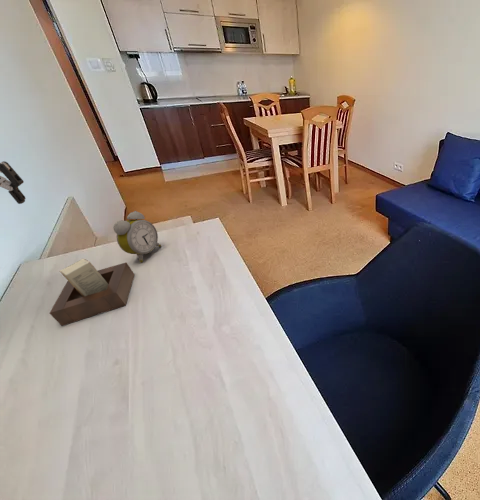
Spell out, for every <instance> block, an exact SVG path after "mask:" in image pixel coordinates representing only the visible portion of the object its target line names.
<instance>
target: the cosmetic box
mask: <svg viewBox="0 0 480 500" xmlns="http://www.w3.org/2000/svg"><path fill="white" fill-rule="evenodd" d="M59 272H60V273H61V275H62V276H63V277H64V278H65V279H66V280H67V281H69V282H70V283H71V284H72V285H73V286H74V288H75V289H76V290H77V291H78V292H79V293H80V294H81V295H82V296H83V297H85V296H88V295H91V294H94V293H98V292H101V291H104V290H107V287H108V283H107V282H106V281H105V279H104V278H103V277H102V276H101V275H100V273H99V272H98V270H97V268H96V267H95V266H94V265H93V264H92V262H91V261H89V260H87V258H81V259H79V260H77V261H75V262H73V263H72V264H69V265H68V266H66V267H64V268H62V269H61V270H59Z"/></svg>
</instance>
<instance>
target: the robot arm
mask: <svg viewBox="0 0 480 500" xmlns="http://www.w3.org/2000/svg"><path fill="white" fill-rule="evenodd" d="M0 173H1V174H3V176H2V175H0V188H2V189H4V190H7V192H8V193H9V195H10V196H11V197H12V198H13V200H14V201H15V202H16V203H17V204H19V205H21V204H24V203H25V202H26V196H25V195H24V193H23V192H22V191H21V190H20V188H19V187H20V186H21V185H23V184H24V179H23V178H22V177H21V176H20V175H19V173H17V172H16V170H14V168H13V167H12V166H11V165H10V164H9V162H7V161H5V160H4V161H1V162H0Z"/></svg>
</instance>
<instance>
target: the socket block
mask: <svg viewBox="0 0 480 500" xmlns="http://www.w3.org/2000/svg"><path fill="white" fill-rule="evenodd" d="M97 271H98V272H99V273H100V275H101V276H102V277H103V278H104V279H105V281H106V282H107V283H108V287H107V290H104V291H101V292H98V293H94V294H91V295H88V296H85V297H83V296H82V295H81V294H80V293H79V292H78V291H77V290H76V289H75V288H74V286H73V285H72V284H71V283H70V282H69V281H68V280H67V282H66V283H65V284H64V286H63V288H62V290H61V292H60V294H59V295H58V297H57V299H56V301H55V303H54V304H53V306H52V308H51V310H50V311H49V315H50V316H51V317H52V318H53V319H54V320H55V321H56V322H57V323H58V324H59V325H60V326H61V327H63V326H66V325H69V324H72V323H75V322H79V321H83V320H85V319H88V318H91V317H94V316H97V315H100V314H103V313H107V312H111V311H113V310H116V309H119V308H122V307H126V306H127V303H128V300H129V296H130V292H131V288H132V286H133V281H134V278H135V273H134V271H133V270H132V268H131V267H130V265H129V264H128V262H123V263H119V264H116V265H112V266H109V267H104V268H101V269H98V270H97Z"/></svg>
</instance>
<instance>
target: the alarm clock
mask: <svg viewBox="0 0 480 500" xmlns="http://www.w3.org/2000/svg"><path fill="white" fill-rule="evenodd" d="M145 219H146V217H145V215H144V214H143V213H141V212H139V211H137V210H134V211H132V212H130V213H129V214H128V215H127V216H126V220H119V221H116V222H115V223H114V225H113V228H112V229H113V231H114V233H115V234H116V242H117V244H118V246H119V248H120V249H121V250H122V251H123V252H124V253H127V254H131V255H137V258H138V261H139V263H143V262H144V255H147V254H150V253H151V252H152V251H153V250H155V248H156V247H159V248H160V247H161V246H162V245H161V244H160V243H159V242H158V240H159V235H158V231H157V228H156V227H155V225H154V224H153V223H152V222H150V221H148V220H147V219H146V220H145Z"/></svg>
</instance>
